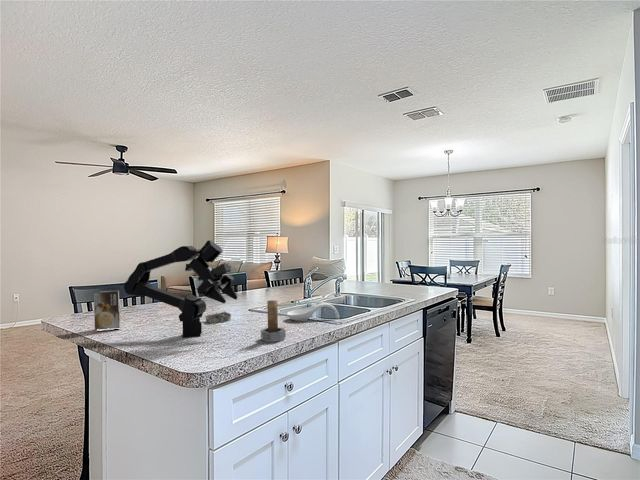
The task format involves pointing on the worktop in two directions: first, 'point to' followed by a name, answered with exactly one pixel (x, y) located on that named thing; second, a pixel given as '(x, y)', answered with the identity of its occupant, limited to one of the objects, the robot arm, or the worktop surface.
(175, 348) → the worktop surface
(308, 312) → the spoon rest
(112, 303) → the coffee box
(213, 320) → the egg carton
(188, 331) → the robot arm
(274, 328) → the dowel
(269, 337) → the ring
